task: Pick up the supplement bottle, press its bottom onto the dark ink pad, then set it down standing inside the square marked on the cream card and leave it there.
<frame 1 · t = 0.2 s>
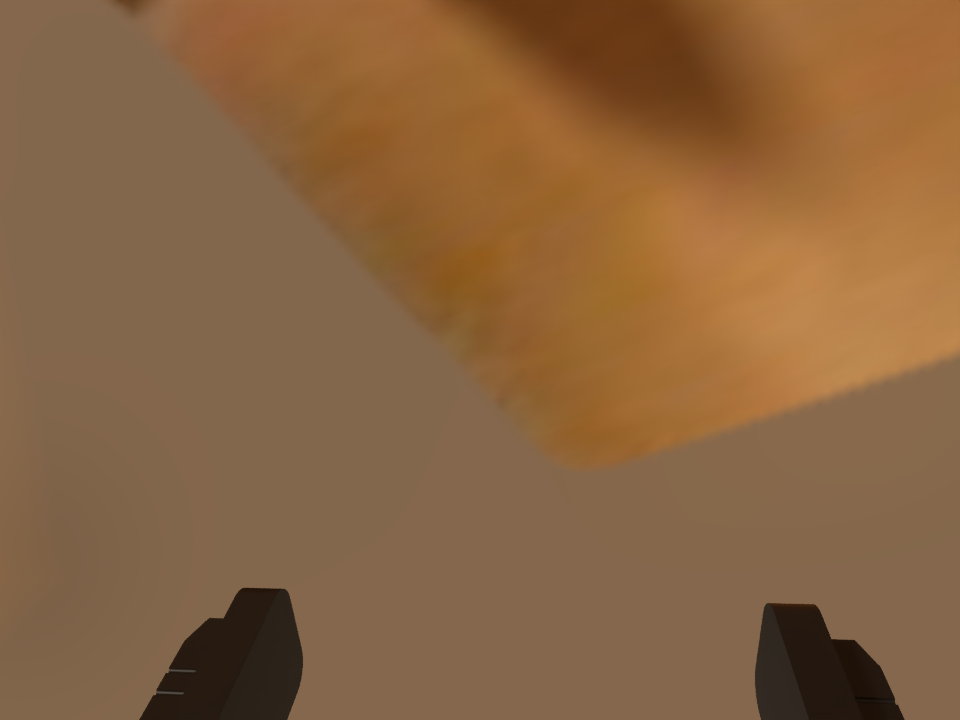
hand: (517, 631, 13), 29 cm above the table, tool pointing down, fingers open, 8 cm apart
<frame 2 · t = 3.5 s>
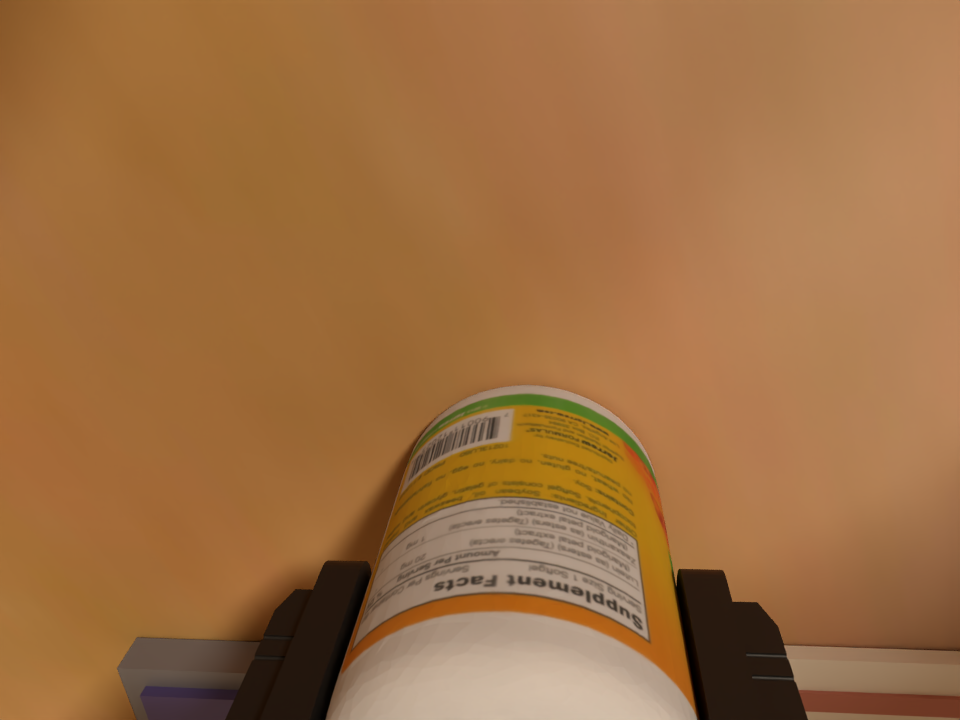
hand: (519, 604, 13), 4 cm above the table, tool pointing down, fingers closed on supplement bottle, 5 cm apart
supplement bottle: (530, 480, 17), on the table, touching gripper
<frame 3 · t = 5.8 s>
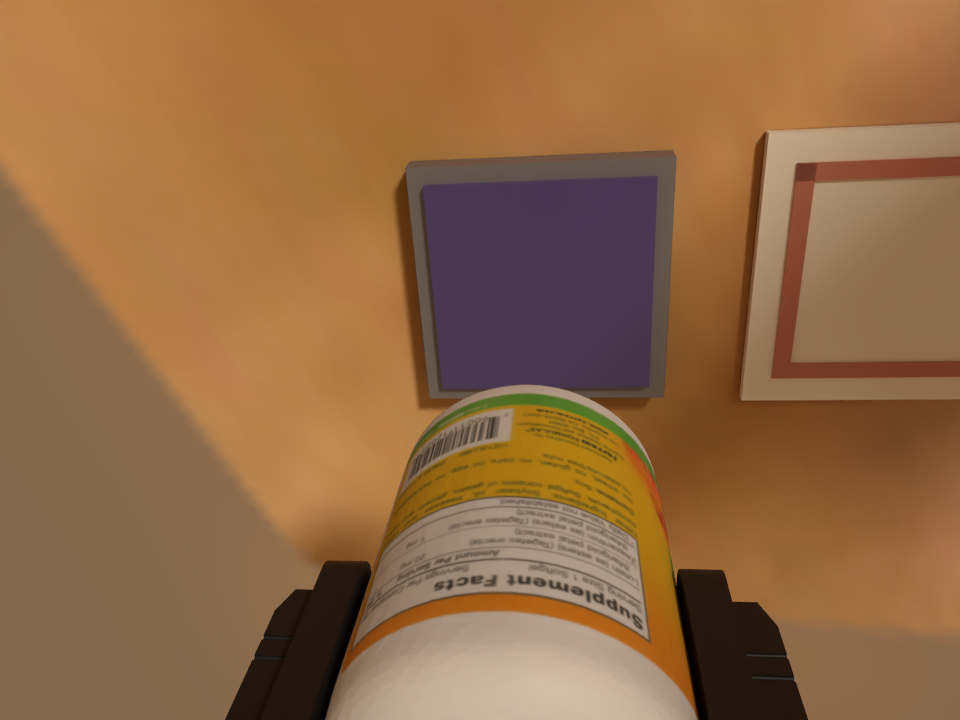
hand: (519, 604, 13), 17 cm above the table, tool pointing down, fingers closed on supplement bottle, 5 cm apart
supplement bottle: (530, 480, 17), point 13 cm above the table, touching gripper
marked card: (898, 270, 27), on the table
ink pad: (542, 278, 28), on the table
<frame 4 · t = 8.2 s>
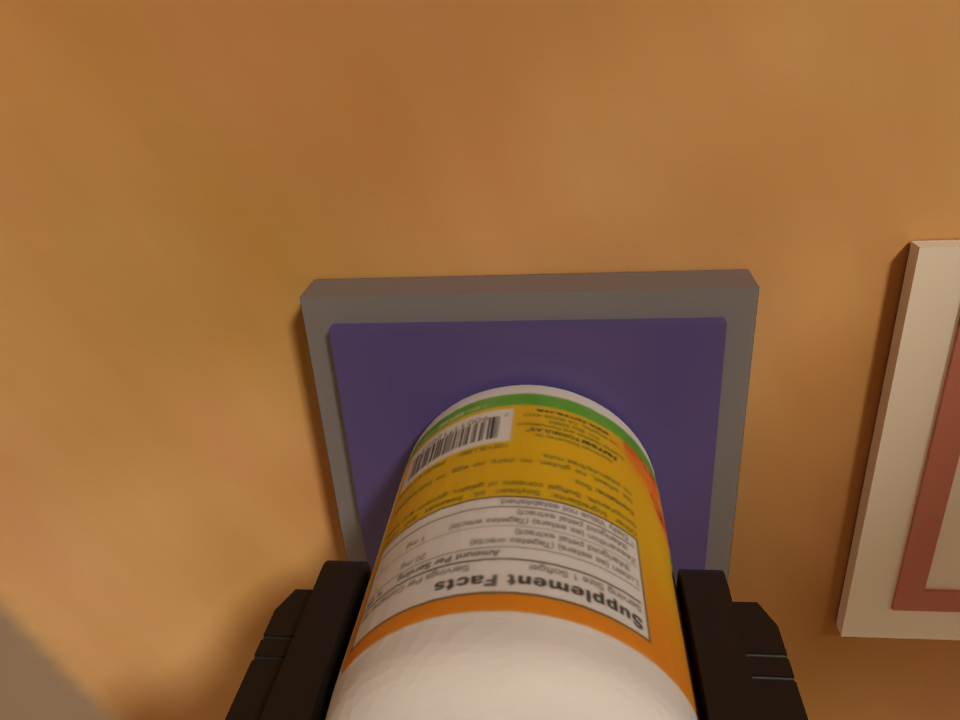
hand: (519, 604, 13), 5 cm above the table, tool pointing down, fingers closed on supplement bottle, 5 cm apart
supplement bottle: (530, 480, 17), point 1 cm above the table, touching gripper, ink pad
ink pad: (530, 456, 18), on the table
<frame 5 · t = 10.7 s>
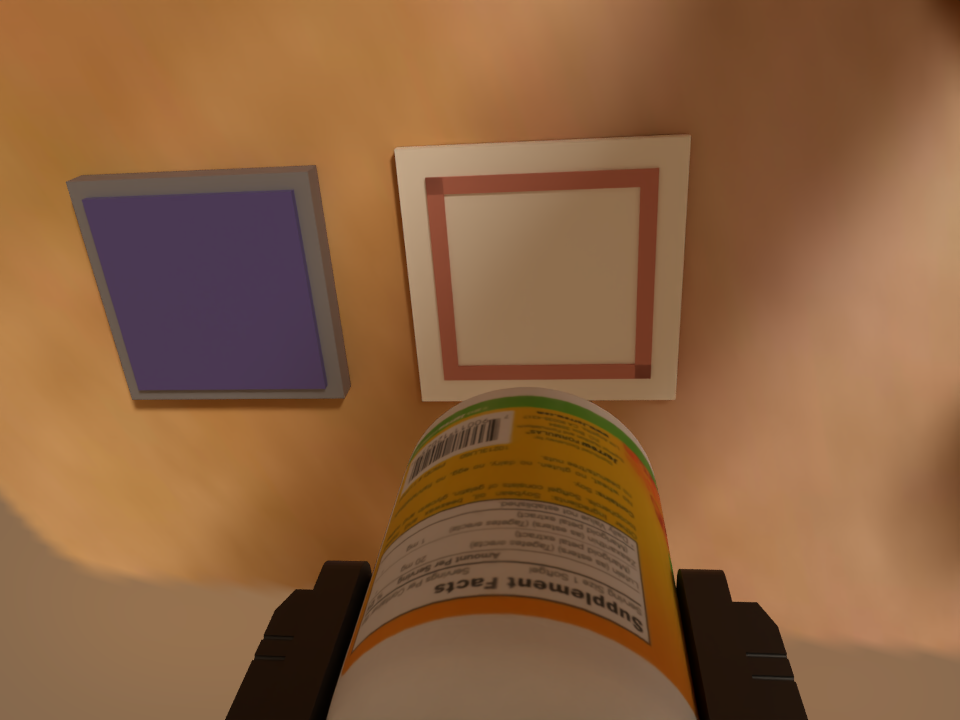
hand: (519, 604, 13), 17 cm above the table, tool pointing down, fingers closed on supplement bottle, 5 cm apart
supplement bottle: (530, 482, 17), point 13 cm above the table, touching gripper
marked card: (543, 278, 28), on the table
ink pad: (222, 286, 30), on the table
when the fingers open (5 cm above the table, at t = 13.2 s): supplement bottle stays where it is, resting on marked card.
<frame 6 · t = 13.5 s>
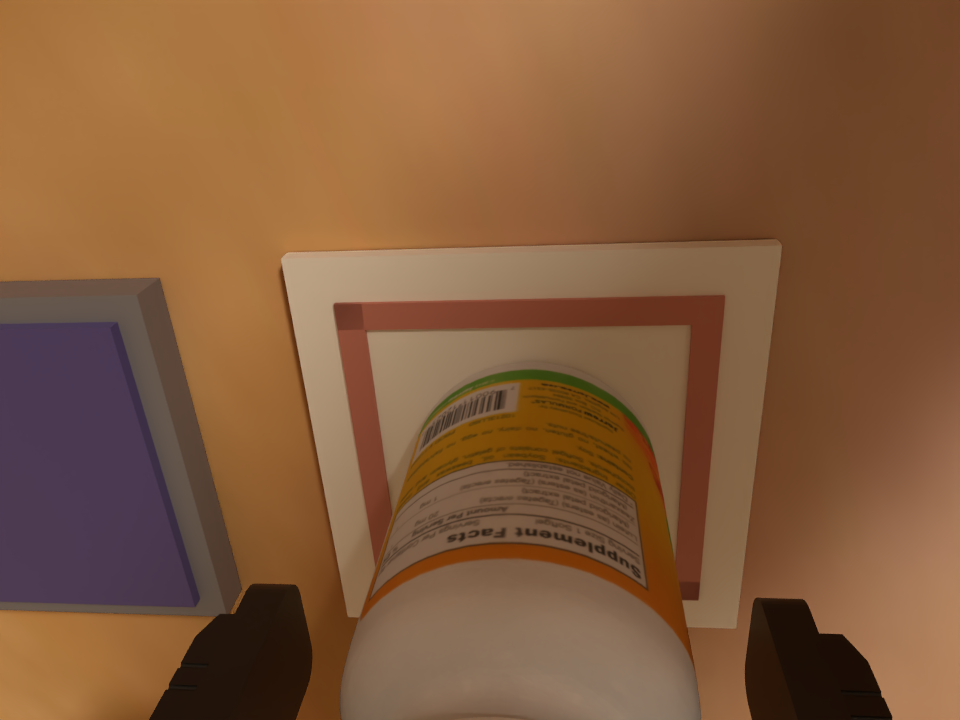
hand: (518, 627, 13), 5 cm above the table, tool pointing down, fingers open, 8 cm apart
supplement bottle: (534, 454, 18), resting on marked card
marked card: (530, 451, 18), on the table
ink pad: (35, 449, 19), on the table
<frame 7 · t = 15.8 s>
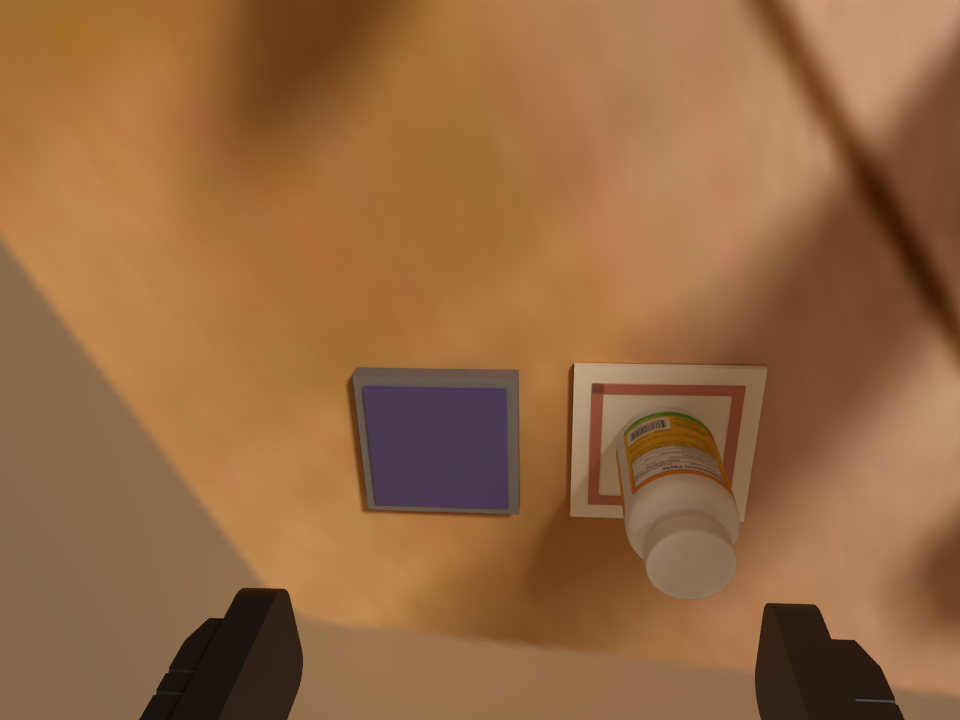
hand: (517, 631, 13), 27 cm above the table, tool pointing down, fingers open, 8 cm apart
supplement bottle: (663, 445, 43), resting on marked card
marked card: (661, 443, 43), on the table
ink pad: (441, 438, 44), on the table
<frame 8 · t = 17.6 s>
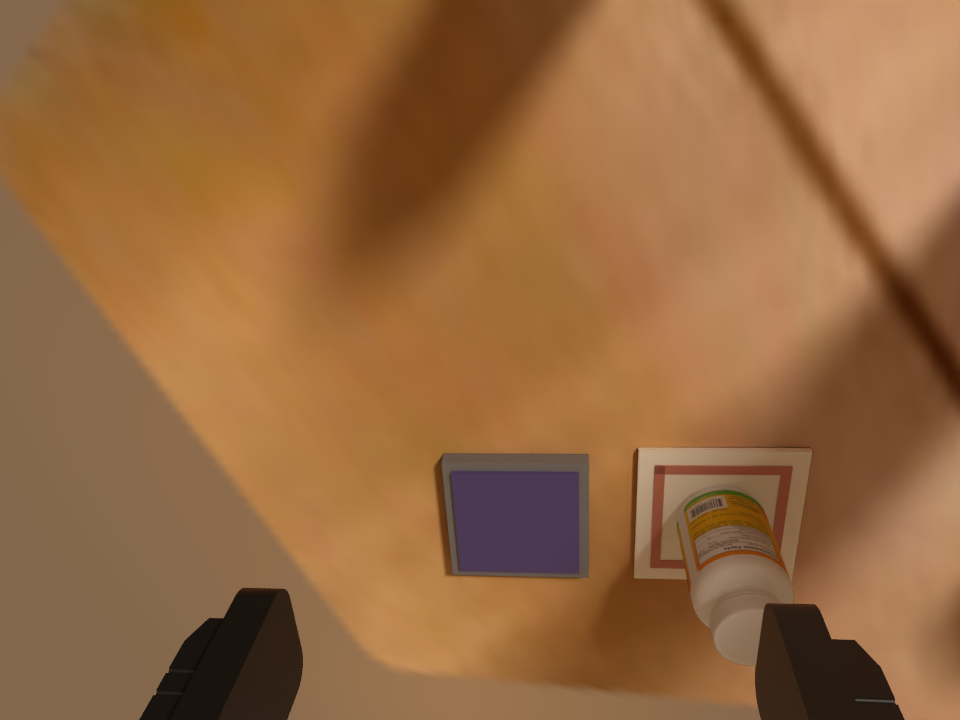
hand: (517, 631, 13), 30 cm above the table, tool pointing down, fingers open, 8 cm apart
supplement bottle: (719, 516, 48), resting on marked card
marked card: (716, 514, 48), on the table
ink pad: (518, 512, 49), on the table
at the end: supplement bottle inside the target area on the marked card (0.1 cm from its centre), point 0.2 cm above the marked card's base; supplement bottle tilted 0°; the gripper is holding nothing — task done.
